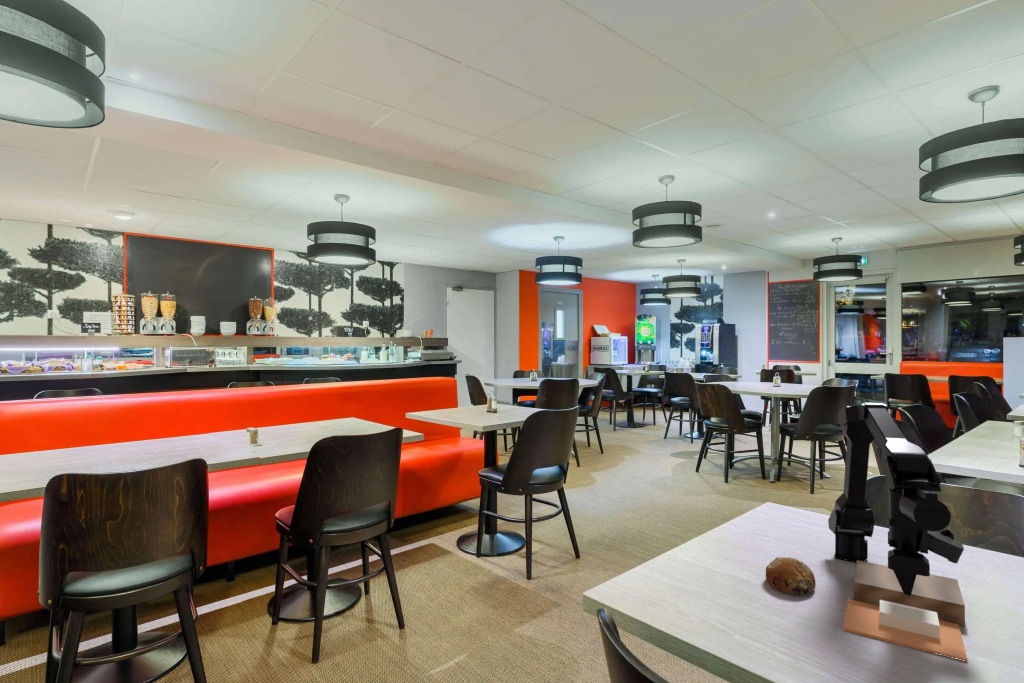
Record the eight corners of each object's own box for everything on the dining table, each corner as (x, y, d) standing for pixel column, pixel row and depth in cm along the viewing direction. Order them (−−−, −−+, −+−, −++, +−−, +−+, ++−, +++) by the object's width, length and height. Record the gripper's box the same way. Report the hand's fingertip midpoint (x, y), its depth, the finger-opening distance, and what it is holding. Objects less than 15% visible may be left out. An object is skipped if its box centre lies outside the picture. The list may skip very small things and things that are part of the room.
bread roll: (814, 601, 121) (812, 563, 124) (818, 599, 112) (816, 558, 115) (765, 592, 125) (765, 556, 128) (766, 590, 116) (765, 551, 119)
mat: (843, 630, 101) (843, 627, 101) (847, 601, 113) (847, 598, 113) (967, 662, 91) (967, 659, 91) (958, 627, 102) (958, 624, 102)
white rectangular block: (879, 599, 107) (879, 611, 107) (879, 611, 102) (879, 624, 102) (936, 612, 102) (936, 625, 102) (939, 625, 97) (939, 639, 97)
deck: (853, 600, 113) (853, 581, 113) (856, 577, 124) (856, 560, 124) (964, 626, 103) (964, 605, 103) (957, 598, 114) (957, 579, 114)
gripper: (965, 536, 93) (966, 626, 93) (954, 510, 108) (955, 587, 108) (887, 524, 99) (888, 608, 99) (887, 501, 115) (888, 574, 115)
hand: (907, 594), depth 105 cm, fingers closed
